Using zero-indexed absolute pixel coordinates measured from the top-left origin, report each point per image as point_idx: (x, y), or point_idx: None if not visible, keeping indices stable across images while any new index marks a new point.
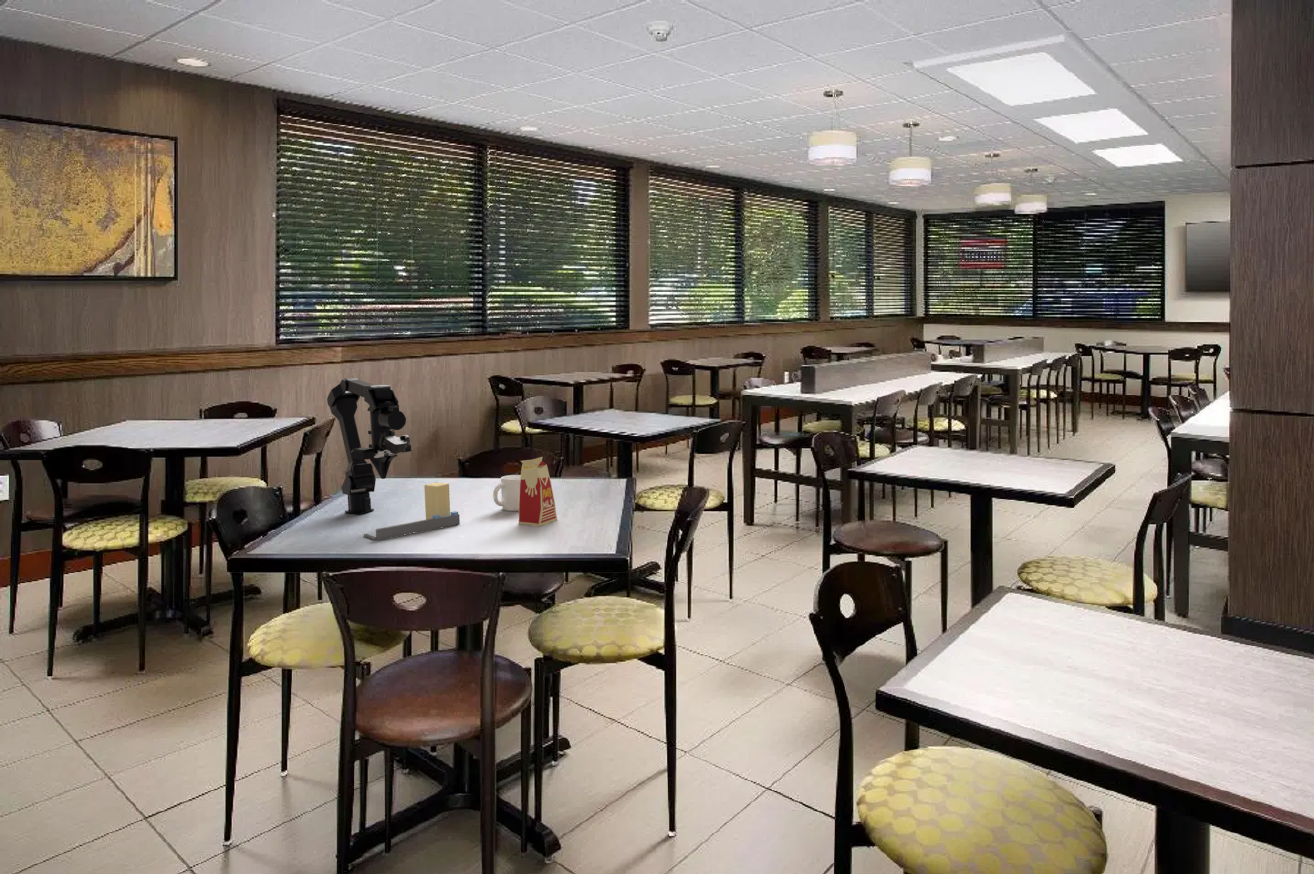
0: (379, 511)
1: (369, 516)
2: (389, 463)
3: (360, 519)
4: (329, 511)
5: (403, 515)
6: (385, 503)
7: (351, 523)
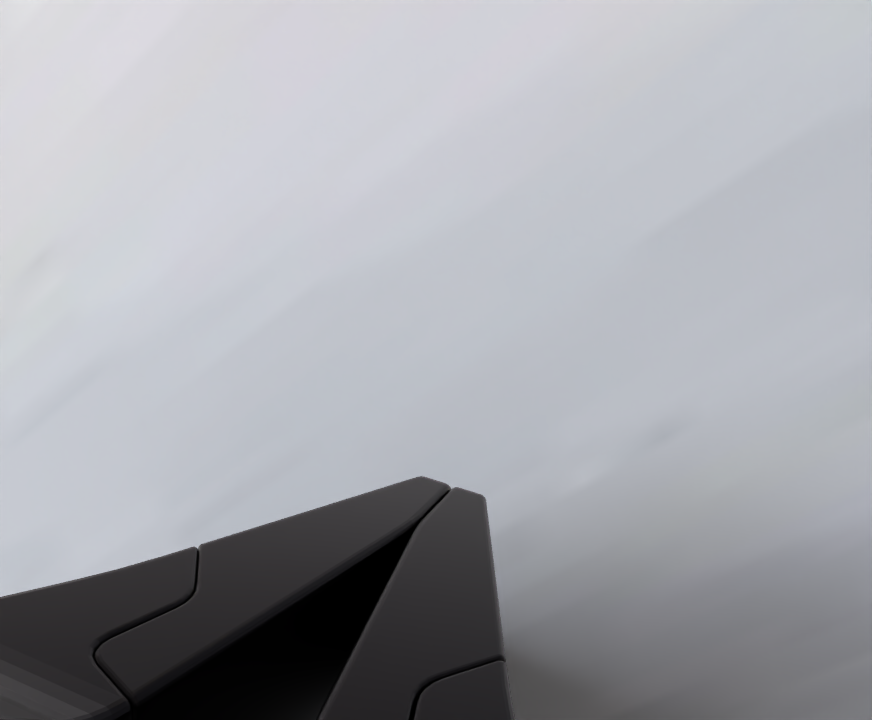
0: None
1: None
2: (73, 605)
3: (612, 561)
4: None
5: (338, 249)
6: None
7: (801, 567)
